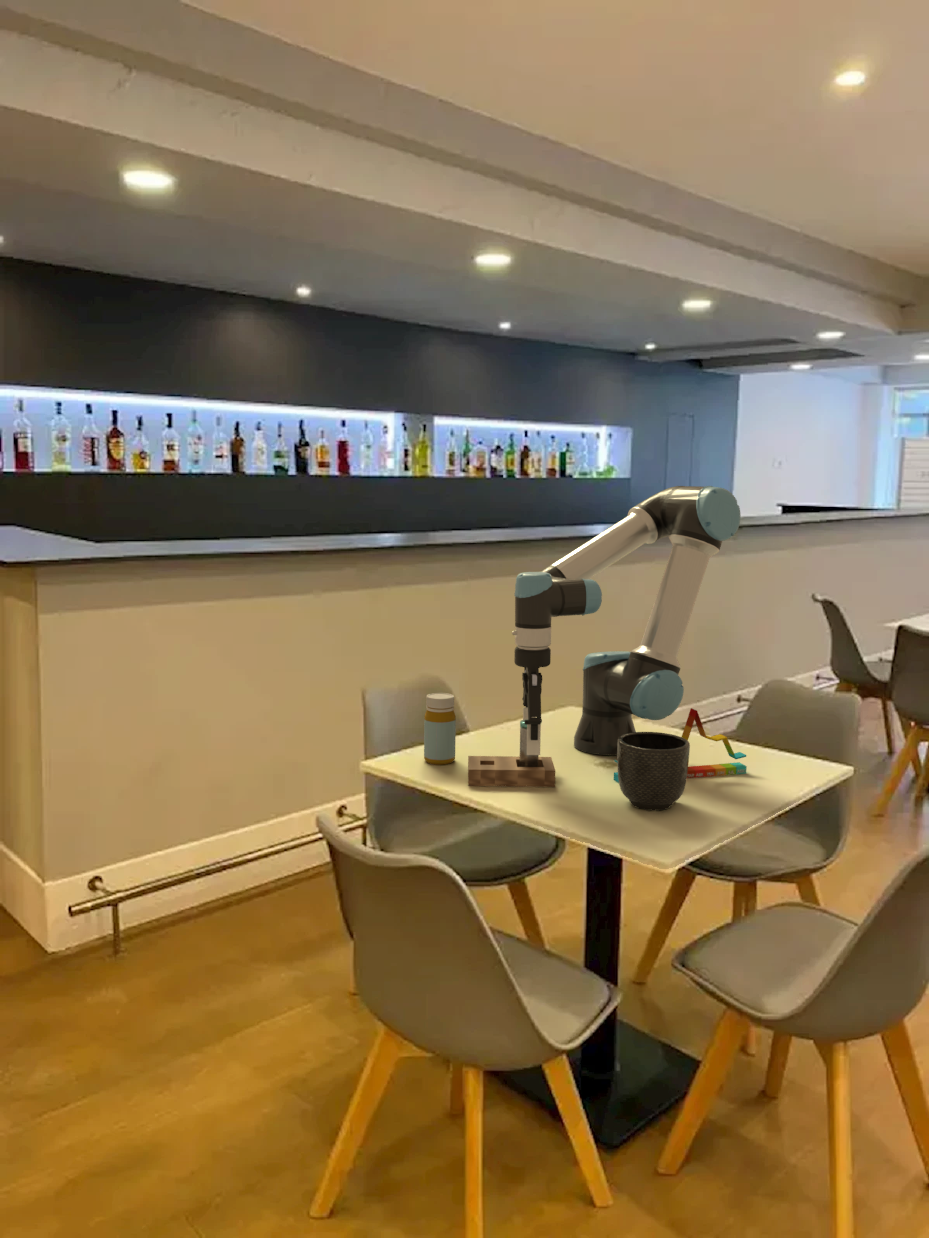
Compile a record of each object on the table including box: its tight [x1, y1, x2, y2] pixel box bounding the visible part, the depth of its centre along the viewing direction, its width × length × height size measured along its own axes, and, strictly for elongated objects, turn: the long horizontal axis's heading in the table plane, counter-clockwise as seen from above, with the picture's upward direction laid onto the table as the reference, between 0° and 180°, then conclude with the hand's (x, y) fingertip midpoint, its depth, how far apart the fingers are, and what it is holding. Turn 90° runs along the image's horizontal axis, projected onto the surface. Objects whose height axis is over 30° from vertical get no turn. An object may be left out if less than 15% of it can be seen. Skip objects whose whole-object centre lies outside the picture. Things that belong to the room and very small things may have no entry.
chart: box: [613, 707, 748, 784], centre depth 210 cm, size 30×3×15 cm, turn 107°
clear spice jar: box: [519, 719, 540, 767], centre depth 206 cm, size 4×4×12 cm
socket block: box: [467, 755, 556, 788], centre depth 207 cm, size 18×10×4 cm, turn 90°
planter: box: [616, 731, 691, 811], centre depth 192 cm, size 14×14×13 cm
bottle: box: [423, 692, 457, 766], centre depth 219 cm, size 7×7×15 cm
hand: (531, 745), depth 206 cm, fingers open, 13 cm apart
